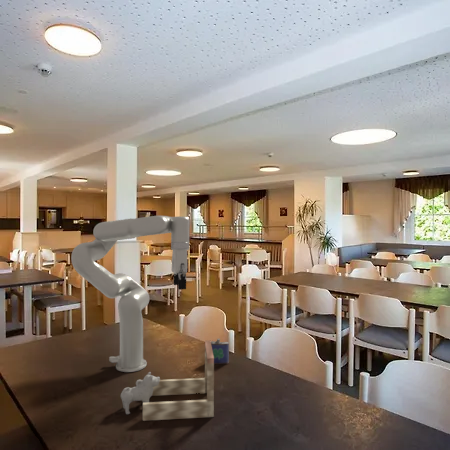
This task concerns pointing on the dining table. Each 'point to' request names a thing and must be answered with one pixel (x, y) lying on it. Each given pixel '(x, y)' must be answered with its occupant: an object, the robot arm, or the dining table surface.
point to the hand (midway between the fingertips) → (179, 287)
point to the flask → (220, 352)
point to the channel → (184, 387)
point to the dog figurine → (139, 391)
